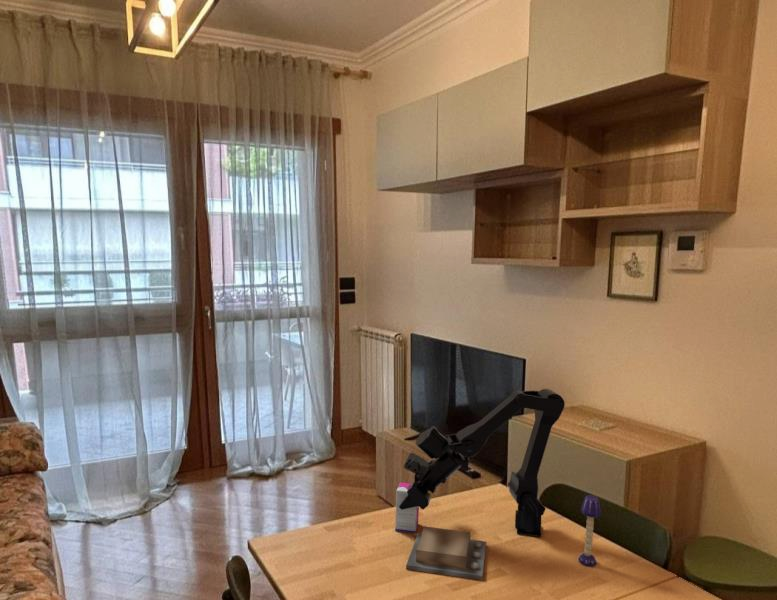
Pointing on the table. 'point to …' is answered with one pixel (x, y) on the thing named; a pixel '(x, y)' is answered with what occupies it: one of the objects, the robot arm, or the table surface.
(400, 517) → the supplement box
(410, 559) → the walnut brick base
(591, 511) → the toy lamp
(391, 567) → the table surface
